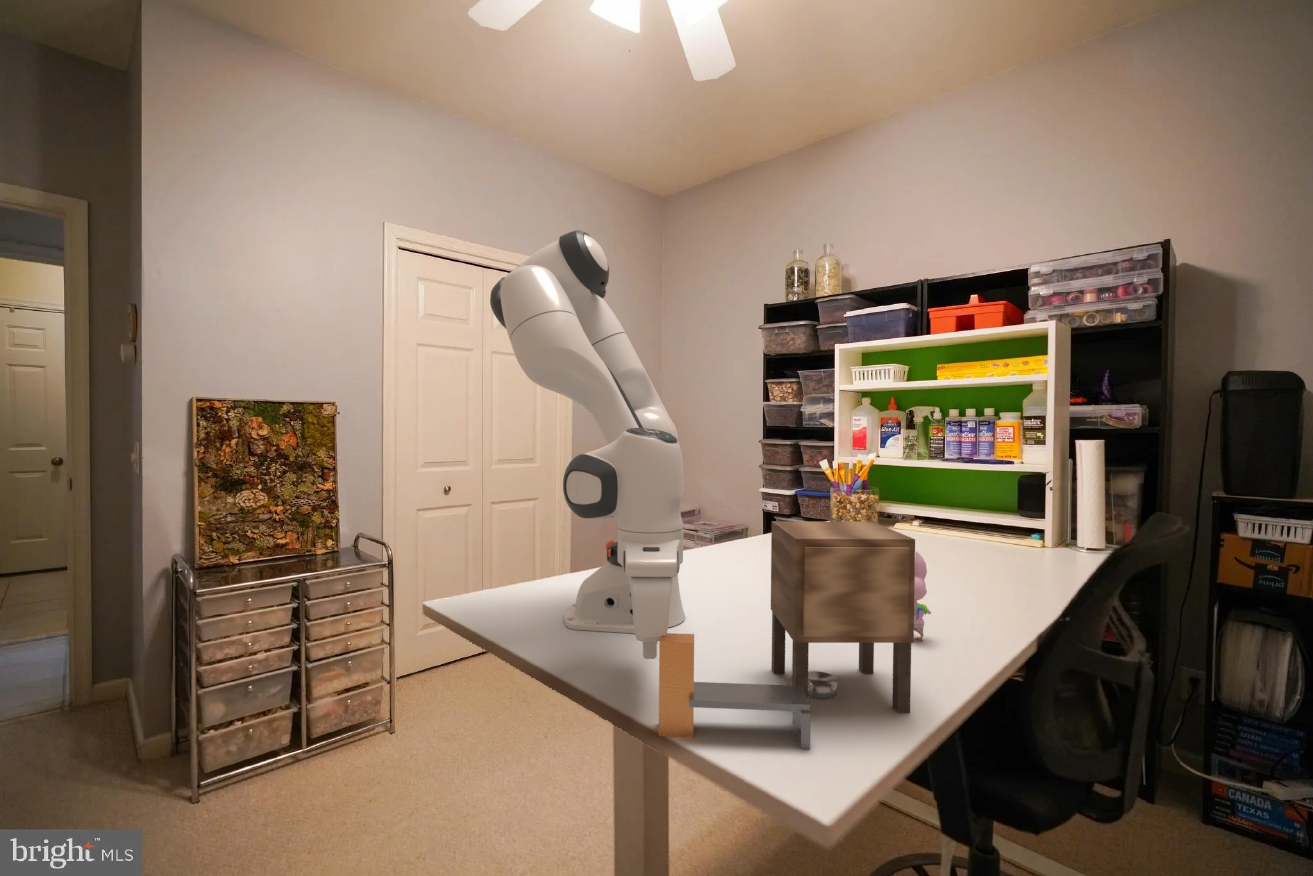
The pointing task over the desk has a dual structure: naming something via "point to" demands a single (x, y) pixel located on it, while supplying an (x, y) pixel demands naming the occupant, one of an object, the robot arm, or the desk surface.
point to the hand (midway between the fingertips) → (649, 651)
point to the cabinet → (843, 595)
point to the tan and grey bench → (717, 693)
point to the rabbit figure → (919, 594)
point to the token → (822, 685)
